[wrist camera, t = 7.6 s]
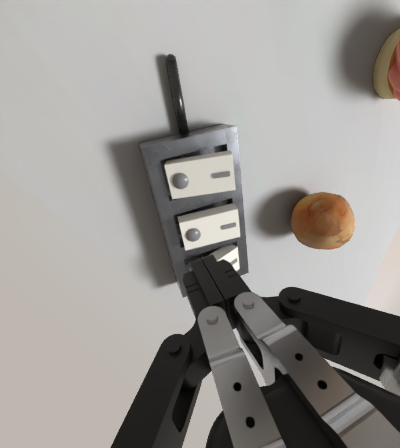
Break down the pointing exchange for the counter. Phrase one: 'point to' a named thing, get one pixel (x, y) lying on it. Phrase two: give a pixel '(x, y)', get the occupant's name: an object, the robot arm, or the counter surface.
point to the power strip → (172, 208)
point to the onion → (323, 221)
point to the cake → (388, 68)
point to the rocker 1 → (201, 174)
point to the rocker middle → (209, 226)
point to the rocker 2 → (228, 255)
